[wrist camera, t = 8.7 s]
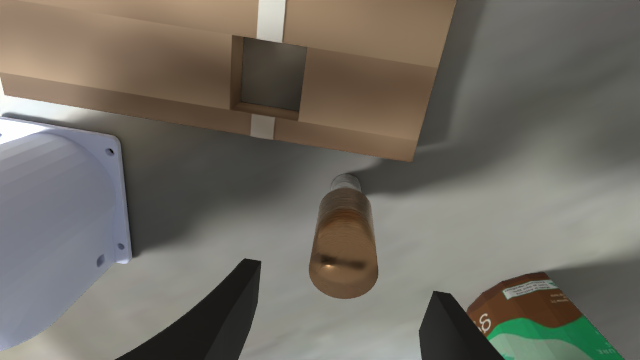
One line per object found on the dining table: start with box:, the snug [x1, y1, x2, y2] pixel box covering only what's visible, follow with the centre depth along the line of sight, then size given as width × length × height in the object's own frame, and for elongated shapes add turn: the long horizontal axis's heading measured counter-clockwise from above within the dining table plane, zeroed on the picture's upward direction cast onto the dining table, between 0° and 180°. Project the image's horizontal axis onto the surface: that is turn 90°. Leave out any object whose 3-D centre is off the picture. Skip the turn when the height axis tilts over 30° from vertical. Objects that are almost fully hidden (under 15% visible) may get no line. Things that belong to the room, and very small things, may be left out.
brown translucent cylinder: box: [309, 174, 378, 299], centre depth 18 cm, size 3×3×8 cm
